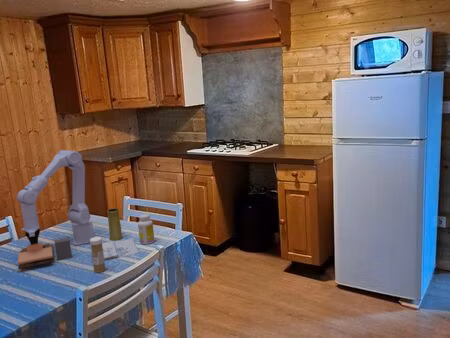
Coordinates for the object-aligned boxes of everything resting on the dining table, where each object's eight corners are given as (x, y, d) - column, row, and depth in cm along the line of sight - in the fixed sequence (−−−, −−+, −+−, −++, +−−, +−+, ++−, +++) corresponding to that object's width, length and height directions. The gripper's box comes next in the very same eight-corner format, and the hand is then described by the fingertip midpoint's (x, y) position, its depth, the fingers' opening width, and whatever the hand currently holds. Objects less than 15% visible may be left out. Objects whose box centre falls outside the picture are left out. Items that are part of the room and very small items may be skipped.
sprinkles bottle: (91, 271, 168) (87, 239, 165) (101, 267, 171) (97, 235, 169) (98, 274, 165) (93, 241, 162) (108, 269, 168) (104, 237, 166)
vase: (125, 236, 204) (121, 208, 201) (118, 241, 199) (114, 212, 196) (114, 235, 206) (110, 207, 203) (107, 240, 201) (103, 211, 198)
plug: (71, 254, 186) (68, 237, 185) (72, 257, 183) (69, 240, 181) (56, 257, 184) (54, 240, 182) (57, 260, 181) (54, 243, 179)
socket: (53, 245, 198) (52, 239, 197) (54, 261, 180) (53, 253, 179) (20, 252, 193) (19, 245, 192) (18, 268, 175) (17, 261, 174)
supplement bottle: (156, 239, 198) (153, 213, 196) (152, 244, 192) (149, 217, 189) (142, 239, 199) (139, 213, 196) (138, 245, 193) (135, 218, 190)
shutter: (51, 248, 185) (50, 240, 184) (52, 257, 175) (51, 249, 174) (19, 254, 180) (17, 246, 179) (18, 264, 170) (16, 255, 169)
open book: (90, 248, 194) (90, 243, 193) (135, 240, 200) (134, 236, 200) (92, 264, 176) (91, 259, 176) (141, 255, 182) (140, 250, 182)
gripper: (20, 214, 185) (25, 243, 188) (19, 223, 172) (24, 255, 175) (37, 211, 188) (42, 240, 191) (37, 220, 175) (42, 251, 177)
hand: (35, 247), depth 183 cm, fingers closed
